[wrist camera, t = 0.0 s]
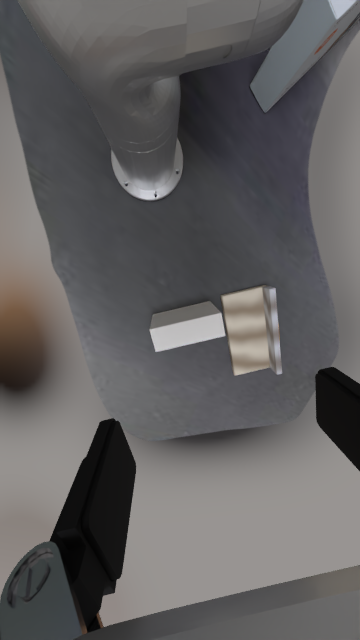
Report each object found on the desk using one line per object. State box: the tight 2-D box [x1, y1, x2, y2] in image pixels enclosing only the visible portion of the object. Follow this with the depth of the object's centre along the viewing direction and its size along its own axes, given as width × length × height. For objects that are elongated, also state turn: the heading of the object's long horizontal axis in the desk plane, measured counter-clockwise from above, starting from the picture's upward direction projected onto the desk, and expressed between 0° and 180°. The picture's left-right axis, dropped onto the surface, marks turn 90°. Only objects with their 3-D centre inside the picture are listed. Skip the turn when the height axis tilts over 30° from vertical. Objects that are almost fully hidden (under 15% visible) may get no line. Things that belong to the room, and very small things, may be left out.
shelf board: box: [220, 285, 282, 375], centre depth 46 cm, size 20×10×5 cm, turn 13°
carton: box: [150, 301, 225, 352], centre depth 42 cm, size 5×13×10 cm, turn 103°
